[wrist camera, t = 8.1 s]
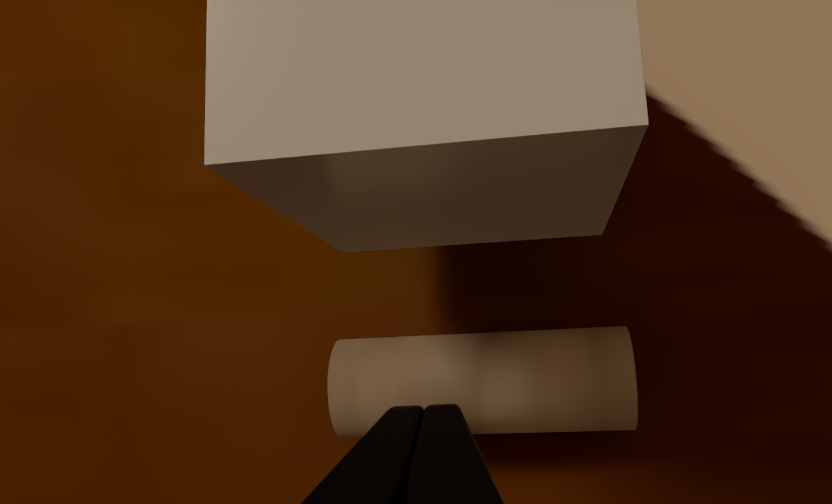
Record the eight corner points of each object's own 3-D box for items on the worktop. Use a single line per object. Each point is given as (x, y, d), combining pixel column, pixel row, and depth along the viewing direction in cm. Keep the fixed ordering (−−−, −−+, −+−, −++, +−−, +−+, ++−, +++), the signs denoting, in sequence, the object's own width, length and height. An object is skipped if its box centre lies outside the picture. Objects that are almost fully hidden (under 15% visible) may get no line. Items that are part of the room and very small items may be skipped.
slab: (601, 234, 13) (648, 125, 8) (342, 252, 14) (204, 164, 8) (577, -57, 14) (601, -350, 9) (337, -26, 15) (212, -274, 9)
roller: (637, 452, 14) (622, 385, 15) (638, 367, 13) (622, 306, 14) (340, 458, 15) (358, 394, 16) (321, 379, 14) (342, 320, 15)
